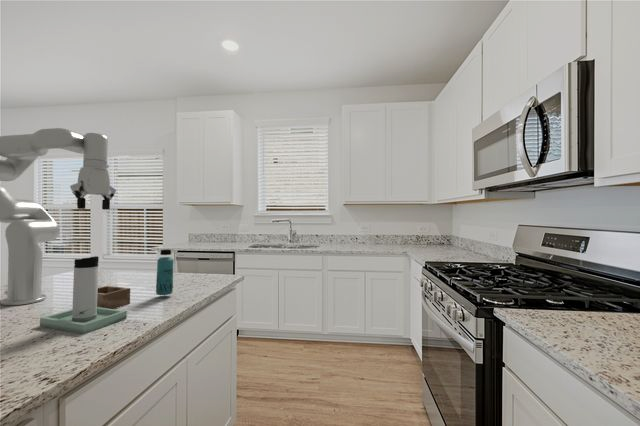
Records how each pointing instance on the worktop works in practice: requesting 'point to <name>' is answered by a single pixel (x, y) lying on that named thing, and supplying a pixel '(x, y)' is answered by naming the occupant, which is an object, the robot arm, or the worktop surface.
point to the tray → (65, 321)
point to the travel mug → (85, 289)
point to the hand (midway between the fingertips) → (94, 209)
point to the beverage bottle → (164, 274)
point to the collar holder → (113, 297)
